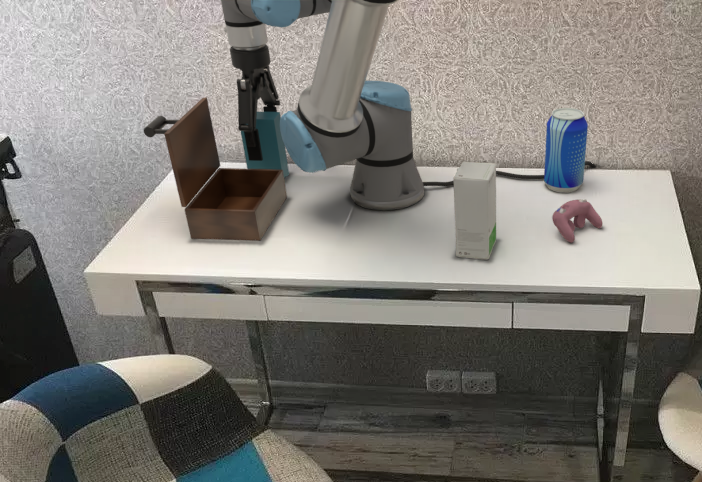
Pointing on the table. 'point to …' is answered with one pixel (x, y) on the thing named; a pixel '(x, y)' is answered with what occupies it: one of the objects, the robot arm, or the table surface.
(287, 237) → the table surface
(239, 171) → the chest
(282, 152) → the block
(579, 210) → the video game controller
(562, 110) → the beer can
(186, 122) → the lid
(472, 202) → the cosmetic box
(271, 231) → the table surface
